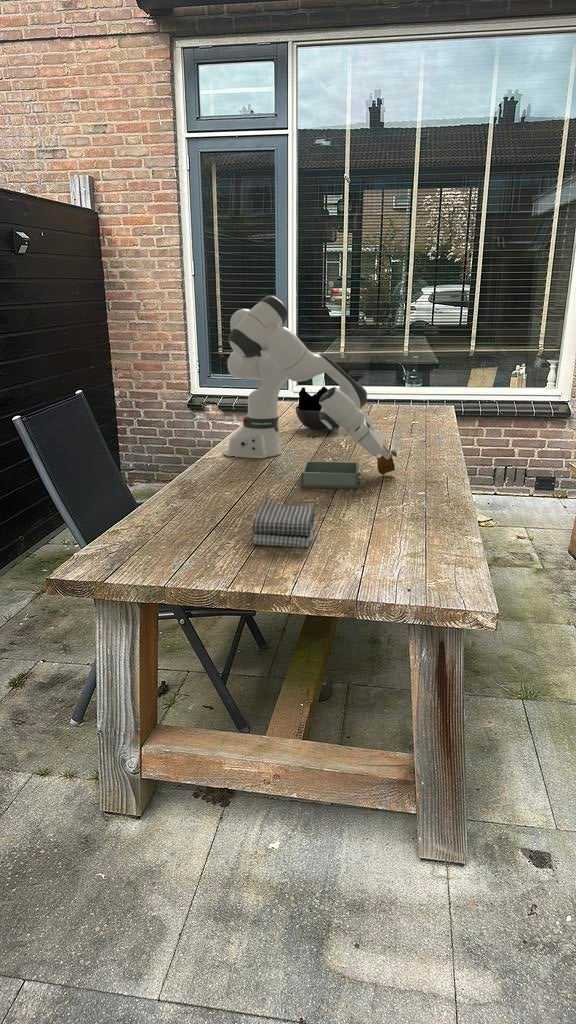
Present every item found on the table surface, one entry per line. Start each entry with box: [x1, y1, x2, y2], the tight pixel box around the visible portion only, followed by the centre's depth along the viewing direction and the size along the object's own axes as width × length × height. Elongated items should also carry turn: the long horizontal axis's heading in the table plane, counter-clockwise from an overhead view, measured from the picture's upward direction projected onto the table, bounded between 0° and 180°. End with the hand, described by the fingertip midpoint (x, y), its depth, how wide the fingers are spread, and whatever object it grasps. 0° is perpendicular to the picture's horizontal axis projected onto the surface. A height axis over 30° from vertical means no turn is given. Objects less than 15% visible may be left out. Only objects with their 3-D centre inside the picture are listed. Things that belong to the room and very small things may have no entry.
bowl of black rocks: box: [295, 386, 329, 431], centre depth 302 cm, size 20×20×19 cm
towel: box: [251, 498, 316, 548], centre depth 177 cm, size 15×18×8 cm
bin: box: [301, 460, 360, 490], centre depth 225 cm, size 18×15×5 cm
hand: (389, 456), depth 230 cm, fingers open, 2 cm apart
